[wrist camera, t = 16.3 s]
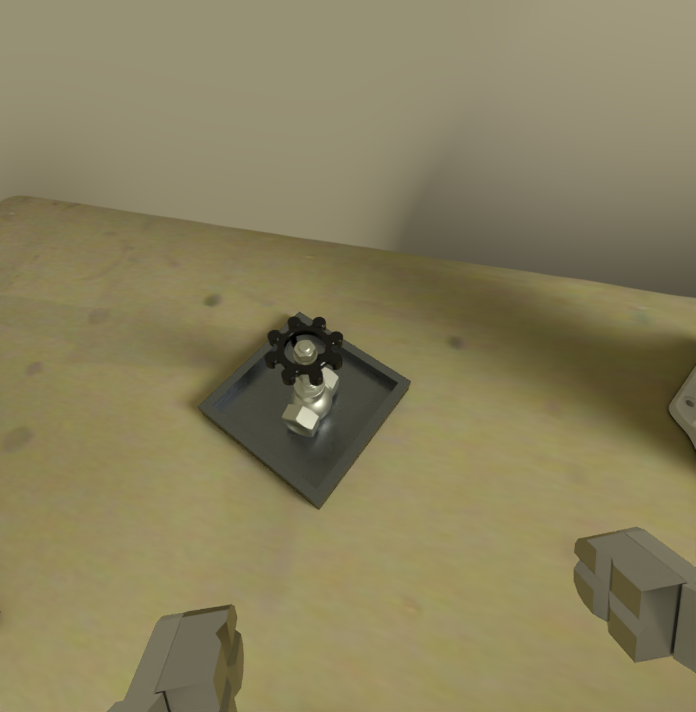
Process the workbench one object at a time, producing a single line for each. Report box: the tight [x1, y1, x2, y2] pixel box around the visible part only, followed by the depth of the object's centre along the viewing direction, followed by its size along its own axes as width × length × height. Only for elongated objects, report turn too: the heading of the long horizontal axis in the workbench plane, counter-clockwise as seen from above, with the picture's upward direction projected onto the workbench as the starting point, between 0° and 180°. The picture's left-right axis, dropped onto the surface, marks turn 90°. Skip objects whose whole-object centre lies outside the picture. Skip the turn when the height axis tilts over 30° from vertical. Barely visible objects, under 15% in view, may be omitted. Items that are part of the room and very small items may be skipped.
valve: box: [264, 316, 343, 437], centre depth 35 cm, size 7×7×12 cm
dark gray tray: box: [198, 312, 411, 510], centre depth 40 cm, size 16×16×2 cm
